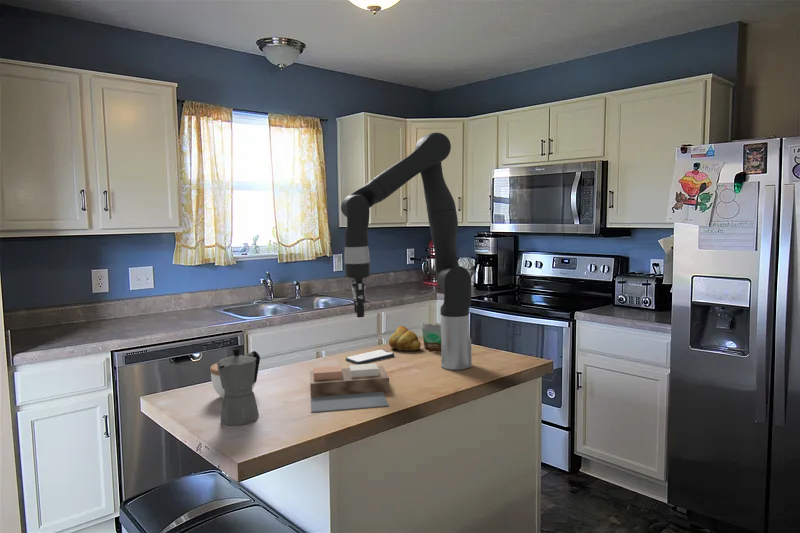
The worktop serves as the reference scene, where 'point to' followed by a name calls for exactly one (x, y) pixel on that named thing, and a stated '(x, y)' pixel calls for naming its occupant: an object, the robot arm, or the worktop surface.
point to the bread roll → (404, 340)
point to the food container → (431, 336)
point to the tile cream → (364, 370)
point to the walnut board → (349, 384)
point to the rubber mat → (348, 402)
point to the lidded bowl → (218, 380)
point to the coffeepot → (239, 388)
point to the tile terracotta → (327, 372)
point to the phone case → (369, 357)
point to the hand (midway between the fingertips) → (359, 314)
